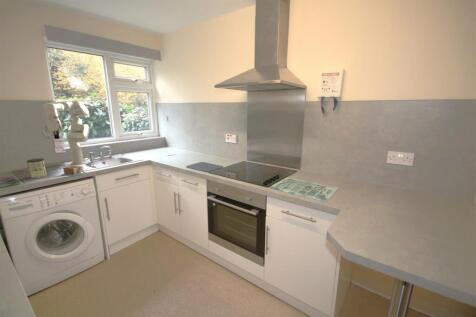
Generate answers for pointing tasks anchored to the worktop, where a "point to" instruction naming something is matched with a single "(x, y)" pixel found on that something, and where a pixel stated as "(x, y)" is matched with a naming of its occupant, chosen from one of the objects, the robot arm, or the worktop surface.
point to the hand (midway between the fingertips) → (57, 138)
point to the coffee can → (36, 168)
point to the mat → (73, 174)
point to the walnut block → (73, 169)
